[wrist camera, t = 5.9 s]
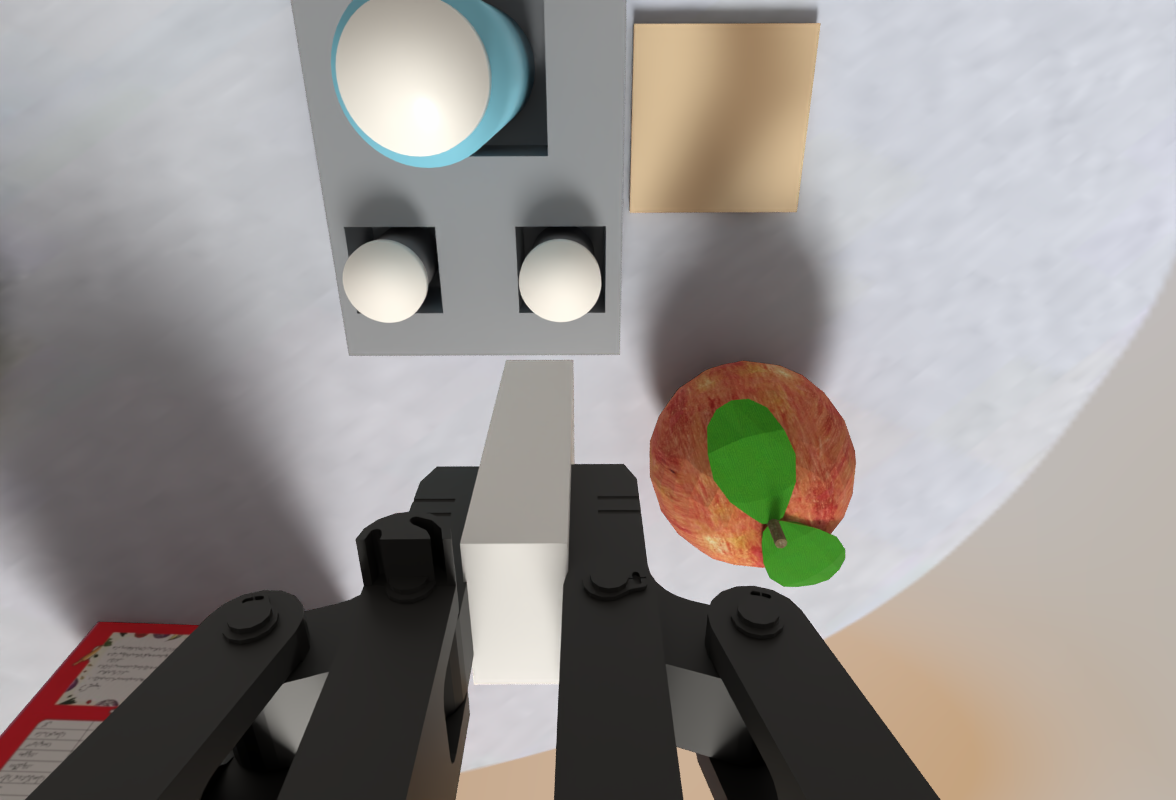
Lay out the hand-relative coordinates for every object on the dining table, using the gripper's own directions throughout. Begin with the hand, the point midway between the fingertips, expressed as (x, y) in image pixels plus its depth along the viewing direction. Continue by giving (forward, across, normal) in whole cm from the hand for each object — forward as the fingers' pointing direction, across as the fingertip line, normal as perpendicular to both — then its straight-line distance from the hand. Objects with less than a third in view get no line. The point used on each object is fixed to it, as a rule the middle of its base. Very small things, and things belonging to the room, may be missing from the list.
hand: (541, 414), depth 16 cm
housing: (+16, -3, +4) cm, 17 cm away
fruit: (+16, +8, -8) cm, 20 cm away
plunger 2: (+15, 0, 0) cm, 15 cm away
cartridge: (+16, -3, +7) cm, 17 cm away
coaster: (+16, +6, +5) cm, 18 cm away
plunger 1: (+15, -6, 0) cm, 16 cm away
